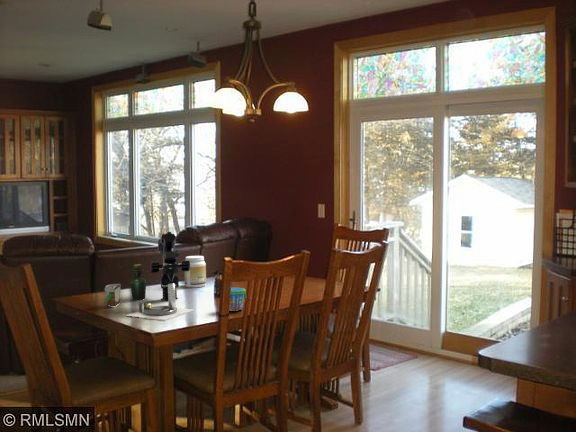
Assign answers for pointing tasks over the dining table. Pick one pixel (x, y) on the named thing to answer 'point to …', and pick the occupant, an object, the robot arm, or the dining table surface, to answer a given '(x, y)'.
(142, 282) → the potion bottle
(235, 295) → the snack cup
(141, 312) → the level stand
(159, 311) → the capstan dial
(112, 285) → the food container
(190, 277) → the supplement tub
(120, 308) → the dining table surface
